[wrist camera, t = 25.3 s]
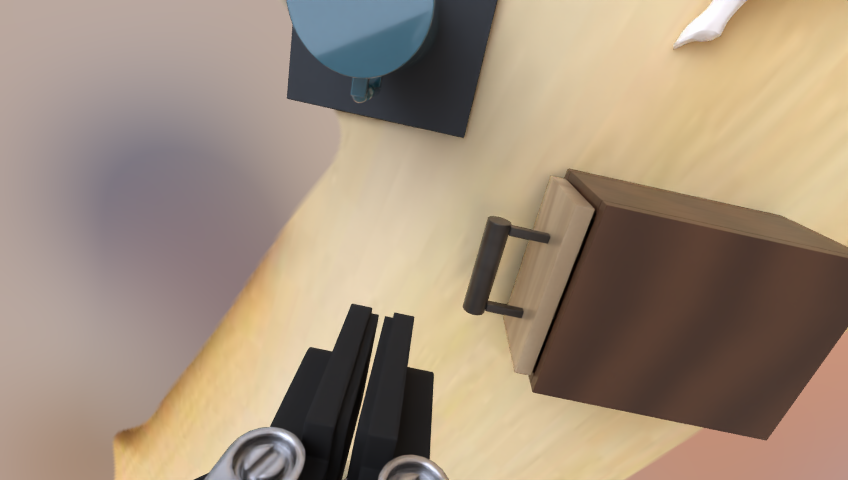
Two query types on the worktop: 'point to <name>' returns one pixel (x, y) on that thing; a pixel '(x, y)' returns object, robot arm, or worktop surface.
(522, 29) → the worktop surface
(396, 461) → the robot arm
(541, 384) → the cabinet
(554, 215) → the drawer
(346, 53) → the teal blue cylinder
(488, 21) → the mat
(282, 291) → the worktop surface
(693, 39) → the banana
